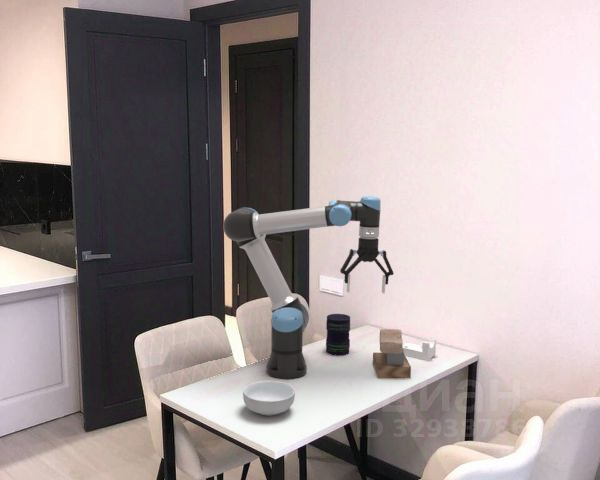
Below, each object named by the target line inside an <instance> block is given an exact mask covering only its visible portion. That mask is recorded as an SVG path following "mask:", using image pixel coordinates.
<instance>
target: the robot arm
mask: <svg viewBox="0 0 600 480" xmlns="http://www.w3.org/2000/svg"><path fill="white" fill-rule="evenodd" d="M380 219H381V199H380V198H379V197H378V196H369V195H368V196H367V195H366V196H361V197H360V200H359V201H353V200H341V199H336V200H334V199H333V200H330V201H329V202H328V205H326V206H325V205H324V206H317V207H308V208H301V209H293V210H292V209H291V210H284V211H277V212H269V213H268V212H267V213H261V214H259V212H258V211H256V210H255V209H253V208H251V207H240V208H238V209H236V210H234V211H232V212H230V213H228V214H227V216H226V217H225V218H224V220H223V222H222V223H223V224H222V225H223V226H222V228H223V232H224V234H225V236H226V237H227V238H228V239H229V240H231V241H234V242H236V244H237V245H238V248H239V249H243V250H244V251H245V252H246V254H247V257H248V258H249V260H250V263H251V264H252V266H253V268H254V270H255V272H256V274H257V276H258V278H259V280H260V282H261V284H262V286H263V288H264V290H265V292H266V294H267V296H268V298H269V300H270V302H271V304H272V305H271V308H270V311H271V312H272V315H271V320H270V323H271V334H270V335H271V338H270V339H271V341H270V343H271V345H270V346H271V348H270V350H271V352H270V355H269V357H268V361H267V364H266V367H265V368H266V371H265V372H266V374H267V375H268V376H270V377H273V378H277V379H284V380H287V379H288V380H290V379H297V378H301V377H304V376H305V375H306V374H307V369H308V368H307V363H306V360H305V357H304V354H303V335H304V334H303V333H304V332H305V329H306V328H307V326H308V324H309V320H310V319H309V318H310V316H309V310H308V308H307V307H306V306H305V305H304V304H303V303H302V302H301V301H300V299H299V297H298V295H296V294H293V293H292V291H291V290H290V288H289V286H288V282H287V281H286V279H285V278H284V276H283V274H282V272H281V270H280V267H279V266H278V264H277V261H276V259H275V258H274V255H273V254H272V251H271V250H270V248H269V246H268V244H267V242H266V240H265V239H266V236H267V235H272V234H279V233H286V232H287V233H288V232H296V231H304V230H311V229H312V230H313V229H318V228H326V227H327V228H328V227H343V226H344V227H345V226H347V225H348V224H349V223H350V222H359V227H358V228H359V230H358V236H359V237H358V245H357V250H356V249H353V248H351V249H349V253H348V255H347V257H346V260H345V261H344V263H343V264H342V266H341V267H340V270H339V272H340V273H341V275H342V274H343V275H344V284H346V292H347V293H350V288H351V287H350V285H351V272H352V271H354V269H355V268H356V267H357V266H358V265H359V264H360V263H361V262H363V263H373V262H374V263H375V264H376V266H378V268H379V269H380V270H381V272H382V273H383V274H384V275H383V274H382V283H381V284H382V285H381V293H382V294H386V285H388V284H389V278H390V276H393V275H394V271H393V268H392V266H391V264H390V261H389V260H388V256H387V251H386V250H385V249H383V250H379V237H380V221H381V220H380ZM356 254H357V258H356V259H355V260H354V261H353V262H352V263H351V264H350V262H351V261H352V259H353V258H354V257H353V256H355V255H356ZM379 255H380V257H382V258H383V261H384V264H385V266H386V268H387V270H388V271H387V270H386V268H384V266H383V265H382V263H381V262H380V260H378V258H377V257H378V256H379ZM349 264H350V266H349Z"/></svg>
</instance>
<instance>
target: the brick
mask: <svg viewBox="0 0 600 480" xmlns="http://www.w3.org/2000/svg"><path fill="white" fill-rule="evenodd" d="M402 333H403V332H402V329H396V328H389V329H388V328H386V329H380V330H379V351H380V352H379V353H393V354H400V353H402V345H403V341H404V340H403V336H402V335H403V334H402Z"/></svg>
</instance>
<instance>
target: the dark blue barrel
mask: <svg viewBox="0 0 600 480" xmlns="http://www.w3.org/2000/svg"><path fill="white" fill-rule="evenodd" d="M325 328H326V339H325V349H326V350H325V353H326V354H328V355H330V356H333V357H335V356H338V357H342V356H347V355H349V354H350V347H351V344H350V341H351V339H350V331H351V316H350V315H348V314H343V313H332V314H328V315H327V316H326V327H325Z"/></svg>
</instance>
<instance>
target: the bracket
mask: <svg viewBox="0 0 600 480" xmlns="http://www.w3.org/2000/svg"><path fill="white" fill-rule="evenodd" d="M436 345H437V339H436V338H429V339H428V342H427V341H422V345H419V344H415V343H409V342H405V343H404V344H403V345H402V346H403V350H404V355H405V357H406V358H407V357H408V358H413V359H416V360H421V361H425V362H429V361H430V360H432V358H433V357H435V356H436V350H437V349H436V348H437V347H436Z"/></svg>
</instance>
